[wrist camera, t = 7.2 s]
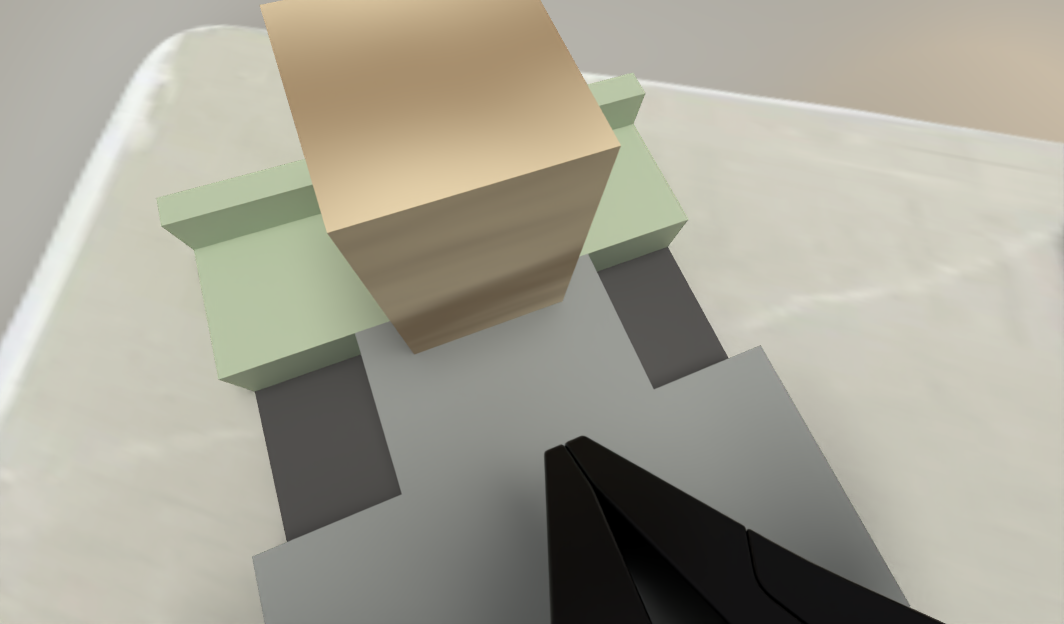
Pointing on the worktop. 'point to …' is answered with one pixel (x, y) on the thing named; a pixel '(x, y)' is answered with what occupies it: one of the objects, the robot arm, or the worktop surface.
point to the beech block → (445, 152)
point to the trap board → (489, 406)
